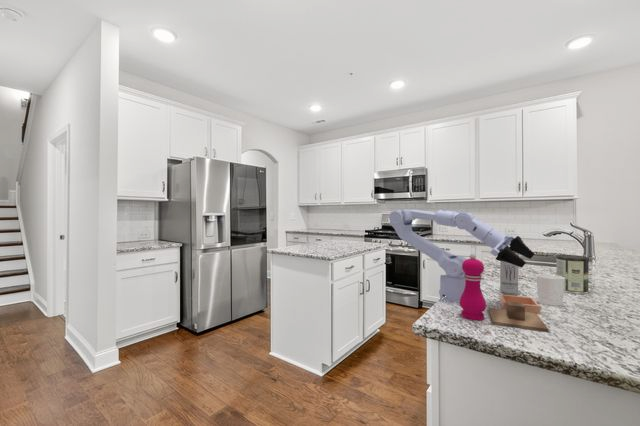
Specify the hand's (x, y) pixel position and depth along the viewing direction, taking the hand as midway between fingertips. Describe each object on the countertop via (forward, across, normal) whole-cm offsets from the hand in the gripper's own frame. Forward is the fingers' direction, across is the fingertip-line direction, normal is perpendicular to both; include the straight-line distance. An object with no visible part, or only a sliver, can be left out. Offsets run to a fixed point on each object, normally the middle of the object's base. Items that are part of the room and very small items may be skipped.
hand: (528, 260), depth 95 cm
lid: (+8, -14, +11) cm, 20 cm away
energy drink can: (+2, +16, +26) cm, 30 cm away
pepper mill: (-1, -22, +15) cm, 26 cm away
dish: (+7, -1, +16) cm, 18 cm away
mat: (+8, -15, +11) cm, 20 cm away
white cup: (+13, +12, +17) cm, 25 cm away
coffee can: (+17, +39, +23) cm, 49 cm away
